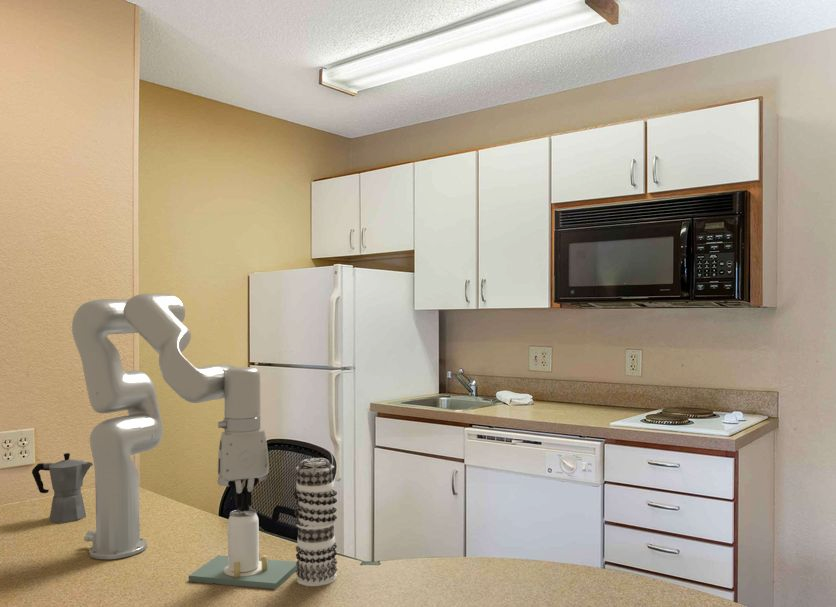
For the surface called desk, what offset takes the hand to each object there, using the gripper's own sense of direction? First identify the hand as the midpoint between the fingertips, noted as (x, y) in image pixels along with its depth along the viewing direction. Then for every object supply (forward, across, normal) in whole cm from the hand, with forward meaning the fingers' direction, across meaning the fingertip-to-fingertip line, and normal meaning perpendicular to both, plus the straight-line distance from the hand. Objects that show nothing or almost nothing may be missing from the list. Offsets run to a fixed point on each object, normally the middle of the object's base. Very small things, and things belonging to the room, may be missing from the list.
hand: (243, 509), depth 150 cm
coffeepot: (+15, -30, +67) cm, 75 cm away
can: (+13, 0, 0) cm, 13 cm away
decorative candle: (+14, +12, -11) cm, 22 cm away
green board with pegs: (+14, 0, 0) cm, 14 cm away
